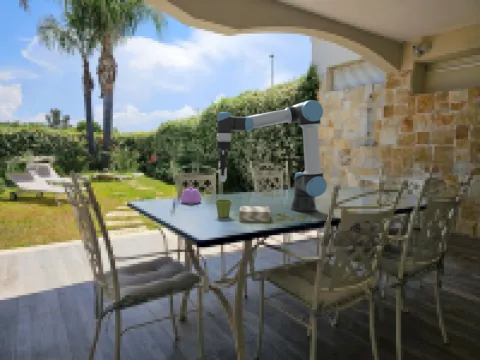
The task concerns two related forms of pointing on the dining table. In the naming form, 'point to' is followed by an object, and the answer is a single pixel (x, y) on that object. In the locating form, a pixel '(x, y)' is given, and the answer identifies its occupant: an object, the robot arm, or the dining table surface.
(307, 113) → the robot arm
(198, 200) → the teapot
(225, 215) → the plant pot
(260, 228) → the dining table surface
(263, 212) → the birch pedestal block
